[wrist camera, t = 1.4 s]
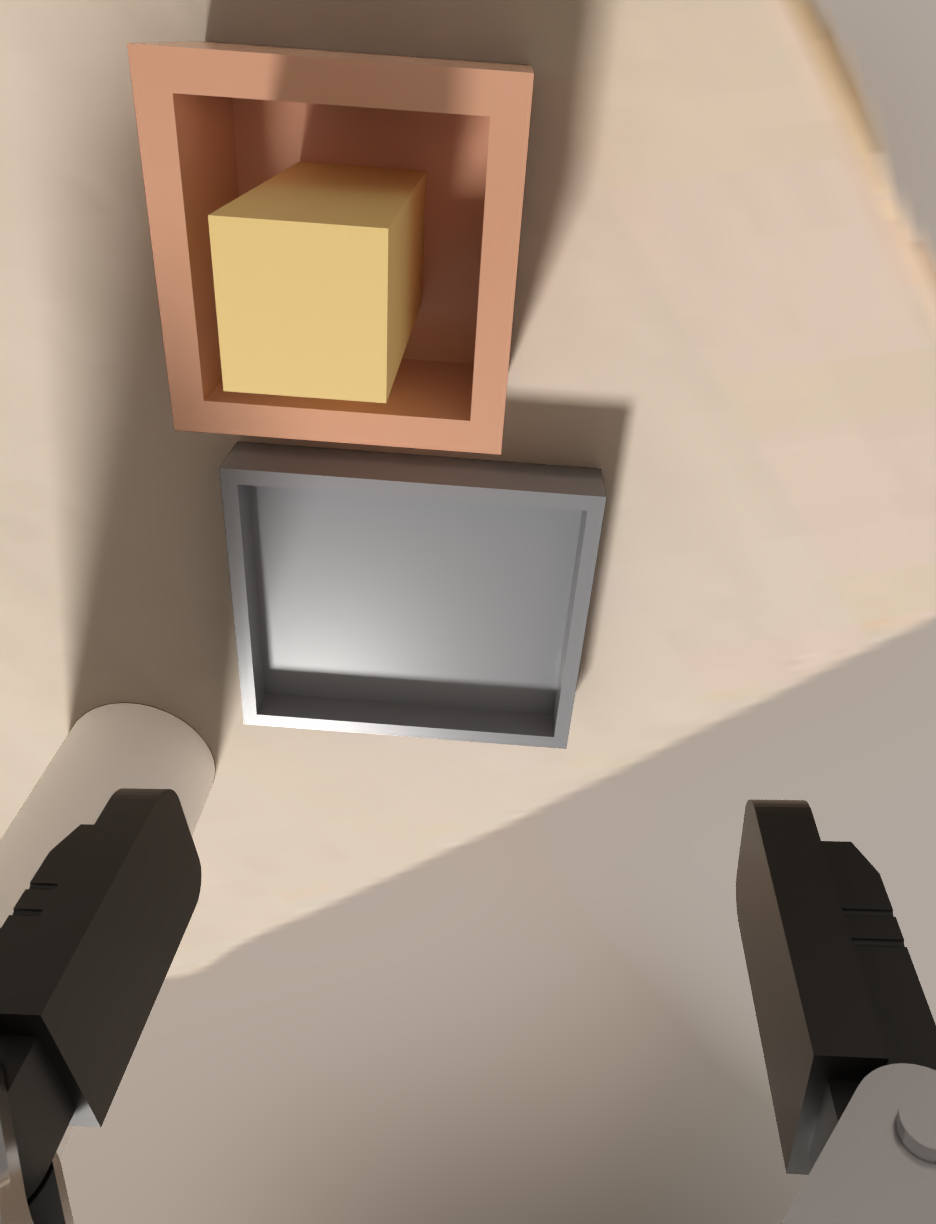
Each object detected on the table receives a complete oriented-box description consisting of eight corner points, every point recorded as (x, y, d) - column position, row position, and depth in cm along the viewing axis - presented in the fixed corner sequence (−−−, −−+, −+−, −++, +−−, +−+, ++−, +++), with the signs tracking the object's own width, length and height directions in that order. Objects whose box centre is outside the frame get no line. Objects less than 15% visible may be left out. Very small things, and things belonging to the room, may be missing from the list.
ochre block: (304, 292, 30) (223, 391, 22) (299, 161, 28) (207, 215, 20) (421, 301, 30) (386, 403, 22) (426, 171, 28) (388, 228, 20)
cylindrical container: (158, 683, 41) (-214, 1361, 20) (243, 789, 45) (-1, 1464, 24) (37, 730, 43) (-421, 1395, 22) (126, 828, 46) (-196, 1485, 25)
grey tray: (257, 688, 41) (243, 724, 39) (237, 441, 35) (219, 467, 32) (563, 712, 41) (566, 748, 39) (600, 469, 34) (606, 497, 32)
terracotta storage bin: (230, 364, 33) (174, 430, 27) (204, 41, 27) (126, 43, 22) (503, 385, 33) (500, 454, 27) (530, 65, 27) (534, 73, 22)
